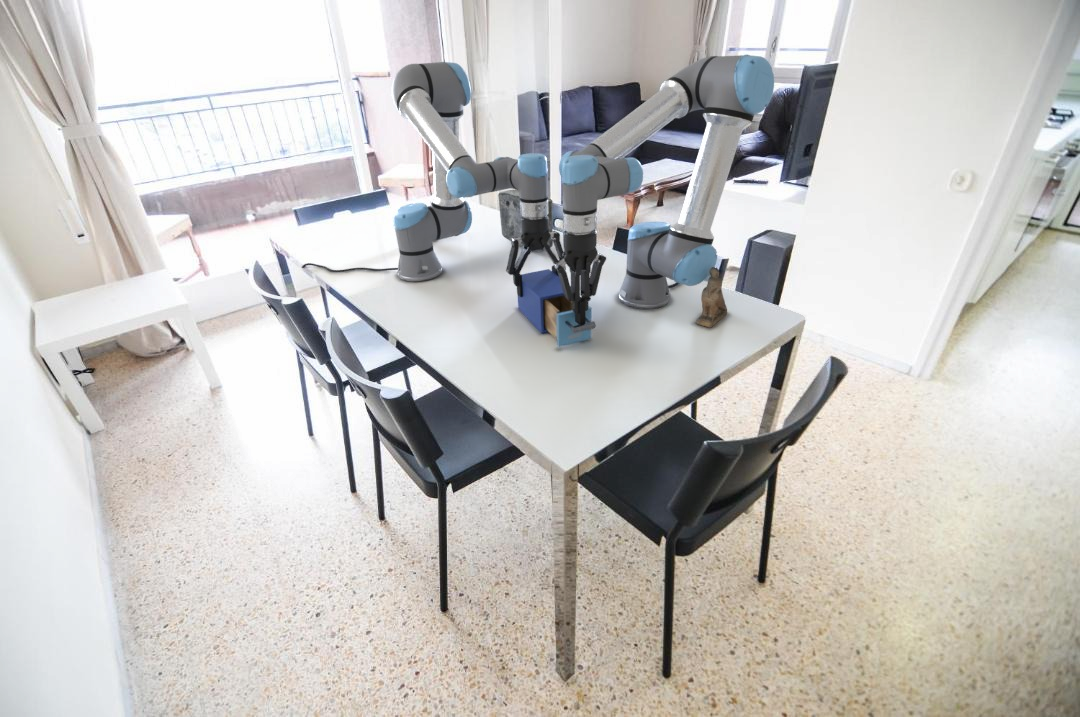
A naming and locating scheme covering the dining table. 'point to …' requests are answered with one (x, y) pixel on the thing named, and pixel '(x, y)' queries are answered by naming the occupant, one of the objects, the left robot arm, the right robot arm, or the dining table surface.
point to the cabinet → (538, 295)
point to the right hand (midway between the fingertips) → (580, 322)
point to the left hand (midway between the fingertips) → (537, 291)
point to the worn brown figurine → (712, 301)
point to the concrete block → (517, 215)
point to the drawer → (565, 321)
